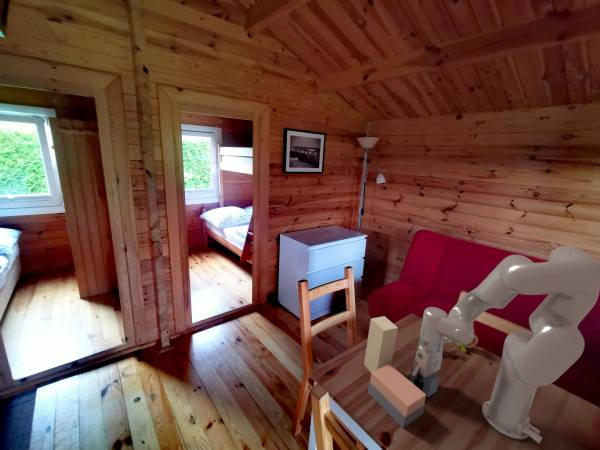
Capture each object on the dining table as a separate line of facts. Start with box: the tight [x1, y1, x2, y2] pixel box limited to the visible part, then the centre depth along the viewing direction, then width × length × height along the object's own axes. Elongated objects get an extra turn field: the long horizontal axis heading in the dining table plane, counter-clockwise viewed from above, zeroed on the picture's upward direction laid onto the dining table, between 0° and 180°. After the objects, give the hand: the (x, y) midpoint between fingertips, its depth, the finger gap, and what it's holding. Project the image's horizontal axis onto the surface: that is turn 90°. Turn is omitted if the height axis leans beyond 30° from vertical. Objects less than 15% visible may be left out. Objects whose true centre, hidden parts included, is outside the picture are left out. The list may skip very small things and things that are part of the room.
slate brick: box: [408, 365, 441, 398], centre depth 100 cm, size 8×5×6 cm, turn 31°
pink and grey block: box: [367, 364, 427, 429], centre depth 92 cm, size 15×10×8 cm, turn 31°
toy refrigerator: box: [363, 315, 399, 374], centre depth 104 cm, size 8×7×21 cm
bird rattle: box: [454, 328, 479, 353], centre depth 122 cm, size 6×11×9 cm
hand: (422, 384), depth 100 cm, fingers closed on slate brick, 5 cm apart
